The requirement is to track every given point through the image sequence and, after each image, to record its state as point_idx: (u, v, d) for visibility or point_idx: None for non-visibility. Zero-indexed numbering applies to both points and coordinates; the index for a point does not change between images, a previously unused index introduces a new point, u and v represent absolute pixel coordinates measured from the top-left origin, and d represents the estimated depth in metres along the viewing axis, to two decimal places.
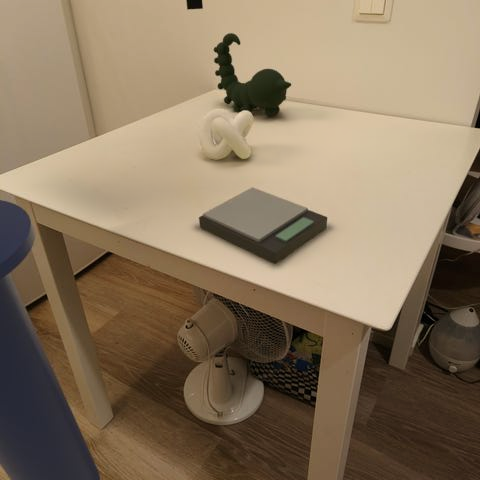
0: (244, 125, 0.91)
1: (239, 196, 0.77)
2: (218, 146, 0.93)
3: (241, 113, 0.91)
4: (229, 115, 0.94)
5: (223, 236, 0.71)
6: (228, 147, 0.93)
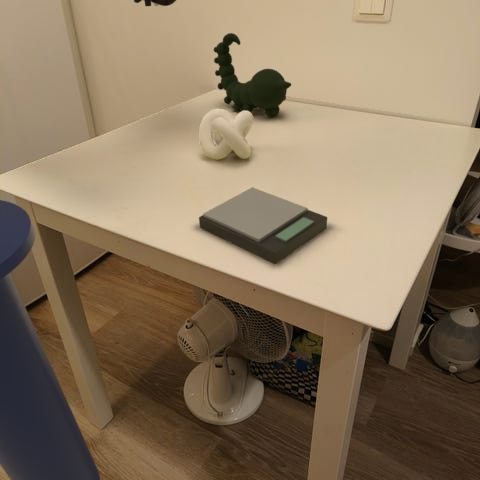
0: (244, 125, 0.91)
1: (239, 196, 0.77)
2: (218, 146, 0.93)
3: (241, 113, 0.91)
4: (229, 115, 0.94)
5: (223, 236, 0.71)
6: (228, 147, 0.93)
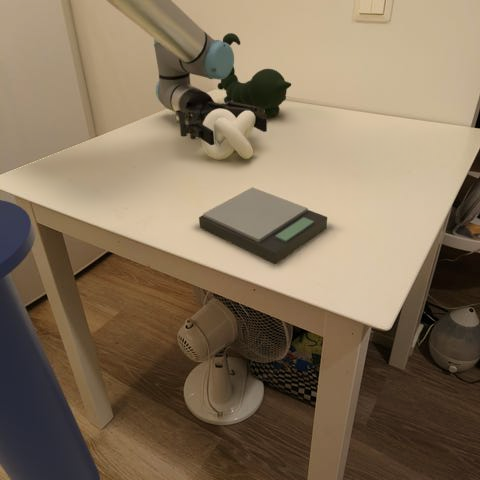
0: (246, 125, 0.91)
1: (239, 196, 0.77)
2: (220, 146, 0.93)
3: (244, 113, 0.91)
4: (231, 115, 0.94)
5: (223, 236, 0.71)
6: (230, 147, 0.93)
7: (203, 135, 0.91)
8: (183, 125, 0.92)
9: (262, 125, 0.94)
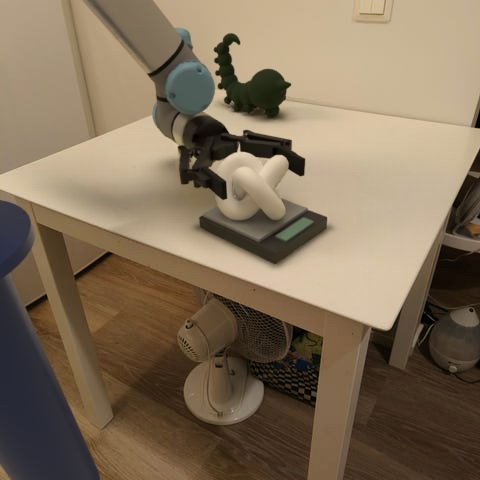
0: (278, 176, 0.66)
1: None
2: (241, 204, 0.68)
3: (274, 159, 0.66)
4: (256, 161, 0.68)
5: (223, 236, 0.71)
6: (255, 206, 0.67)
7: (212, 185, 0.66)
8: (184, 170, 0.67)
9: (298, 167, 0.69)
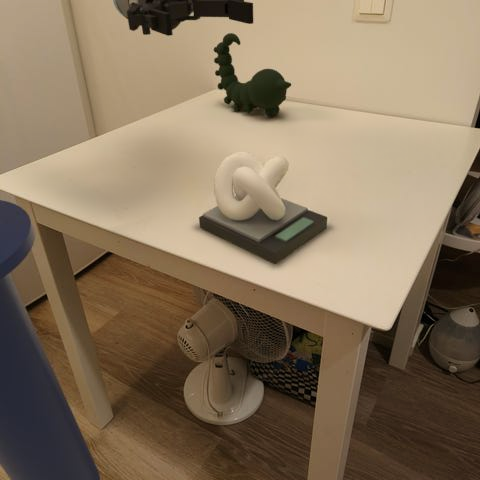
0: (278, 176, 0.66)
1: None
2: (241, 204, 0.68)
3: (274, 159, 0.66)
4: (256, 161, 0.68)
5: (223, 236, 0.71)
6: (255, 206, 0.67)
7: (158, 25, 0.66)
8: (131, 12, 0.67)
9: (247, 14, 0.69)
